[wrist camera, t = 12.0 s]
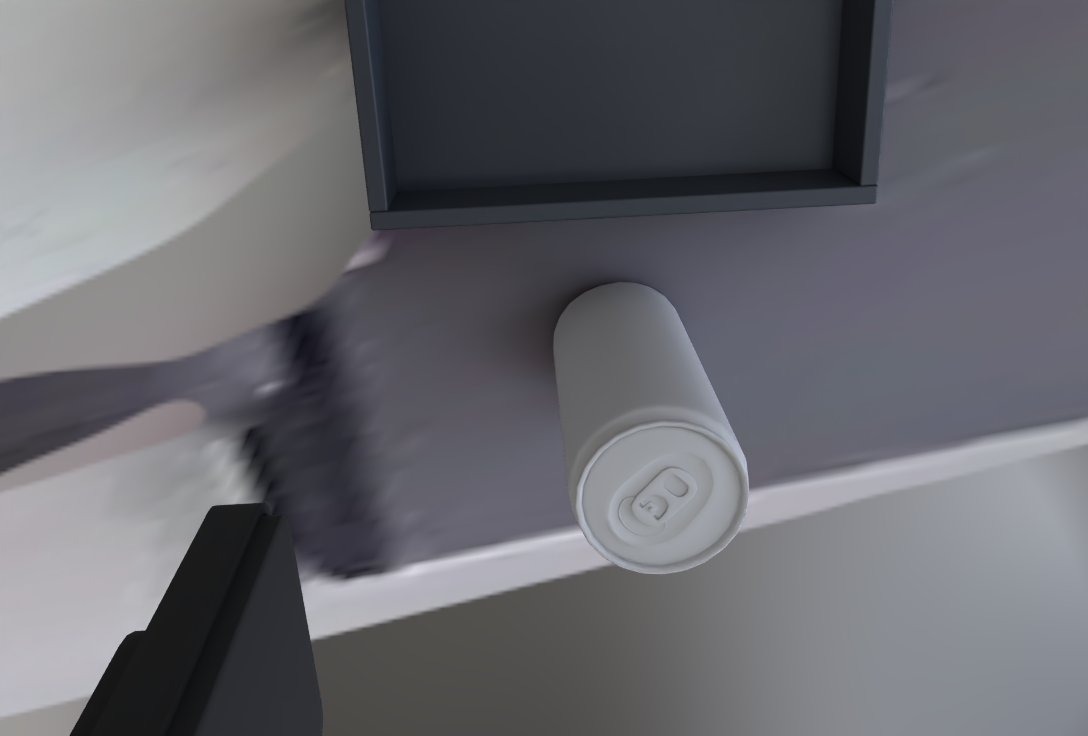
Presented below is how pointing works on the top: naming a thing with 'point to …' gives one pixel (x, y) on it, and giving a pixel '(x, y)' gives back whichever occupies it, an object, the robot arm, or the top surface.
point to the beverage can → (644, 434)
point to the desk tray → (615, 107)
